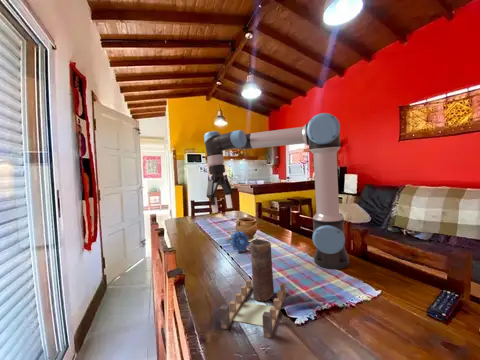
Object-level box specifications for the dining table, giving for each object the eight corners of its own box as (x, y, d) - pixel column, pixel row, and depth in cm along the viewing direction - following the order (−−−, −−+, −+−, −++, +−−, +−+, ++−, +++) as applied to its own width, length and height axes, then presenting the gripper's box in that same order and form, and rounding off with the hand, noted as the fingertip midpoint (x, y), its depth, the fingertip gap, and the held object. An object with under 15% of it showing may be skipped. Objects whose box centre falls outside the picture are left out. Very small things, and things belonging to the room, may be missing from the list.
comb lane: (287, 292, 88) (286, 276, 88) (270, 338, 66) (269, 316, 65) (248, 287, 94) (247, 272, 93) (221, 328, 71) (219, 308, 71)
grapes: (234, 256, 126) (233, 234, 126) (229, 253, 132) (227, 231, 132) (253, 251, 132) (252, 230, 131) (247, 248, 138) (245, 227, 137)
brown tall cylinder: (261, 289, 92) (257, 237, 91) (278, 294, 87) (274, 240, 86) (249, 298, 86) (245, 243, 85) (266, 305, 81) (262, 246, 80)
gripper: (222, 166, 127) (228, 207, 126) (193, 166, 104) (201, 215, 103) (235, 164, 123) (241, 205, 123) (208, 163, 101) (216, 213, 100)
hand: (223, 210), depth 113 cm, fingers open, 13 cm apart
